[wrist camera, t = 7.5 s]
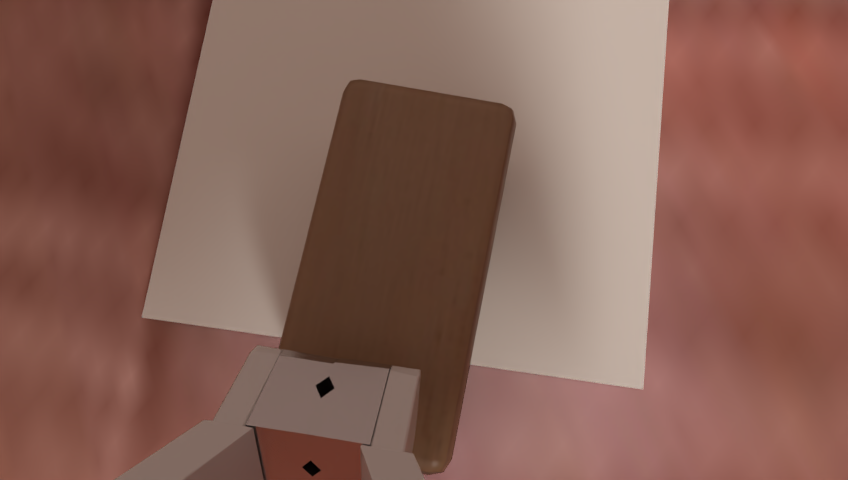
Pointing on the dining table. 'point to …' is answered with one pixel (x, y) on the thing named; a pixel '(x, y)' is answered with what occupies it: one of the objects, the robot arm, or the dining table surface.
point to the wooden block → (405, 243)
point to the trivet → (450, 74)
